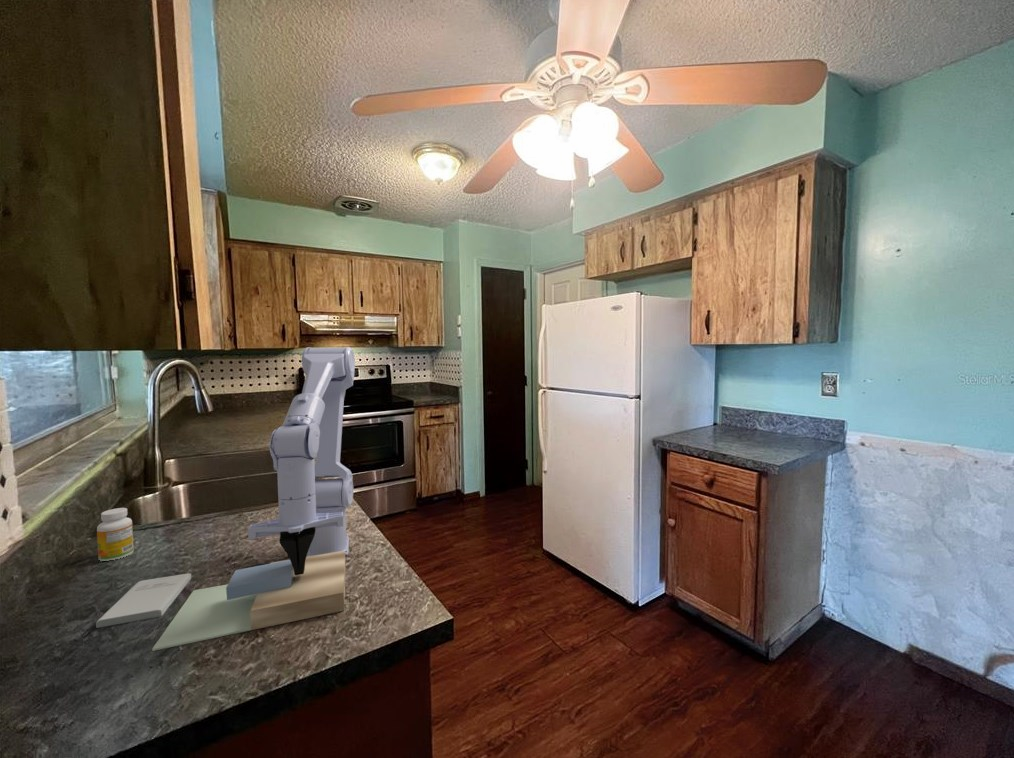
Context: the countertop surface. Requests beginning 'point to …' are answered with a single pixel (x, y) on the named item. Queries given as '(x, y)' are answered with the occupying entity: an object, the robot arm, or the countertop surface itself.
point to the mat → (207, 617)
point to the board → (304, 593)
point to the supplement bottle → (114, 535)
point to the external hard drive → (145, 600)
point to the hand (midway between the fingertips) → (299, 572)
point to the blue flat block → (260, 579)
